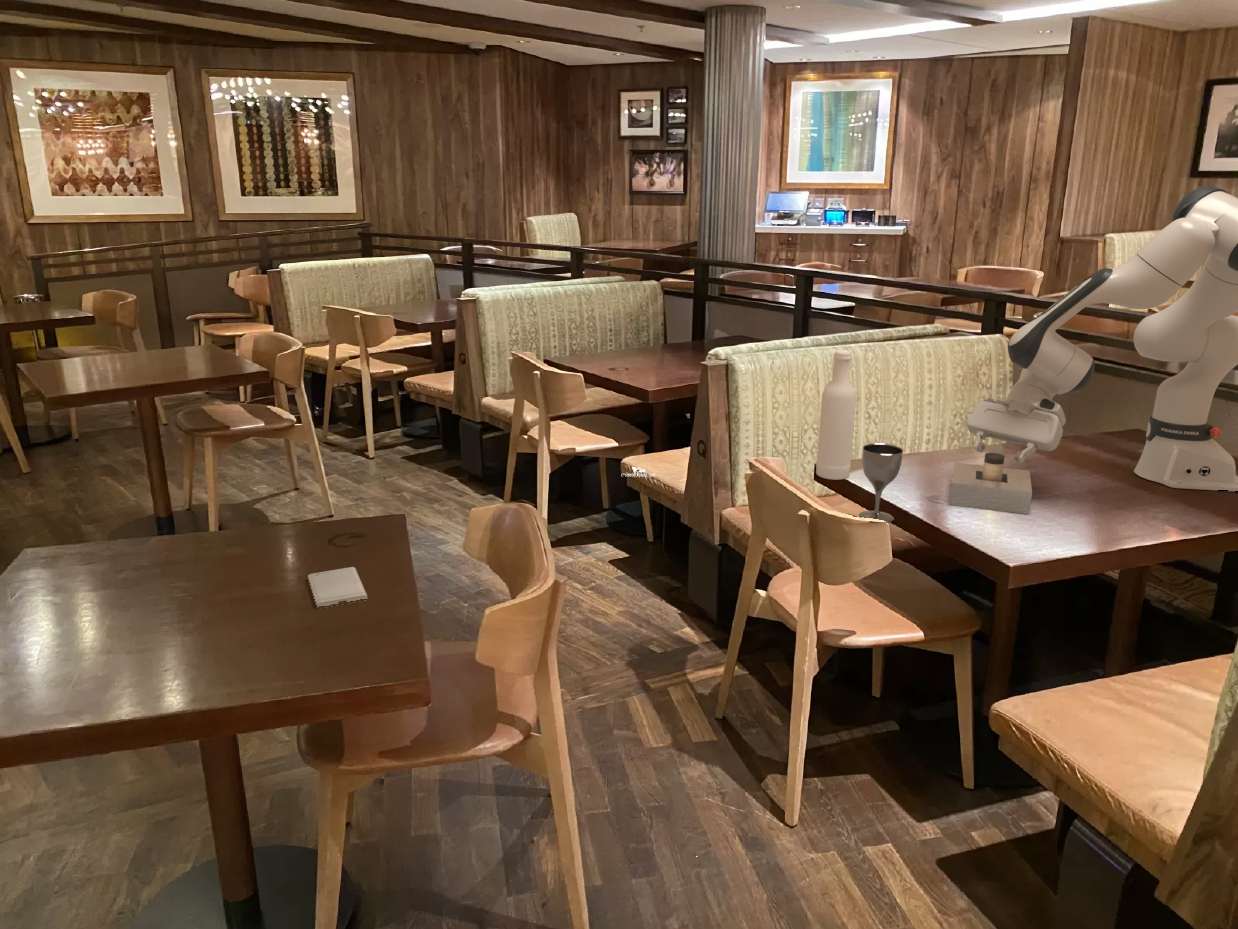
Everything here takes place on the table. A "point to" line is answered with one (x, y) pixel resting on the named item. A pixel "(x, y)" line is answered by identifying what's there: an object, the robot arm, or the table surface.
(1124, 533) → the table surface
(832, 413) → the bottle
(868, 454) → the wine glass
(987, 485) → the housing
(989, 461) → the plug
